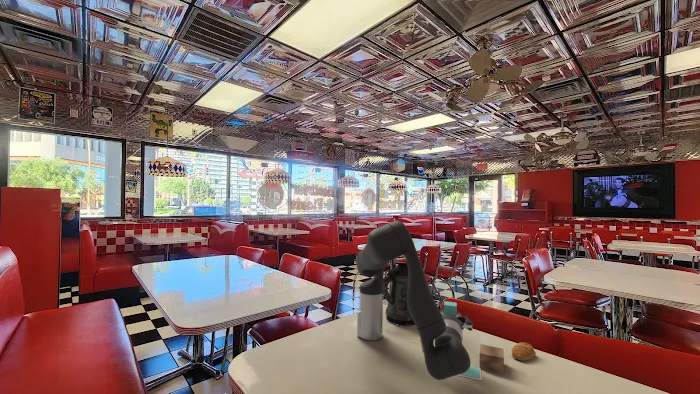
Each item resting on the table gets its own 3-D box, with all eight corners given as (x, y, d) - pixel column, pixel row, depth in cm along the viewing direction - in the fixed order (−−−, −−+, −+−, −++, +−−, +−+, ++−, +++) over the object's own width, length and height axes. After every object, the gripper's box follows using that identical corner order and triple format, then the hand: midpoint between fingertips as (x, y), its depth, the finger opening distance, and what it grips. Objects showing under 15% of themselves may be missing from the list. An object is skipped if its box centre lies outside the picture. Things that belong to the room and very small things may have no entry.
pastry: (528, 365, 102) (528, 353, 102) (506, 357, 107) (506, 346, 107) (536, 356, 108) (536, 345, 108) (515, 349, 113) (515, 338, 113)
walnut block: (479, 368, 99) (479, 353, 99) (480, 358, 105) (480, 344, 105) (503, 374, 96) (504, 358, 96) (503, 363, 102) (503, 348, 102)
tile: (457, 375, 94) (457, 374, 94) (457, 364, 101) (457, 363, 101) (481, 380, 92) (481, 378, 92) (480, 368, 99) (480, 367, 99)
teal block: (443, 334, 102) (443, 304, 103) (443, 330, 106) (444, 301, 106) (456, 337, 101) (456, 306, 101) (456, 332, 105) (456, 302, 105)
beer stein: (427, 317, 142) (428, 263, 143) (411, 332, 126) (412, 270, 126) (394, 310, 151) (395, 259, 152) (375, 323, 135) (377, 265, 135)
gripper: (475, 323, 88) (472, 304, 104) (424, 316, 93) (429, 299, 109) (474, 349, 88) (472, 326, 104) (423, 341, 93) (428, 320, 109)
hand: (450, 312), depth 106 cm, fingers closed on teal block, 4 cm apart
